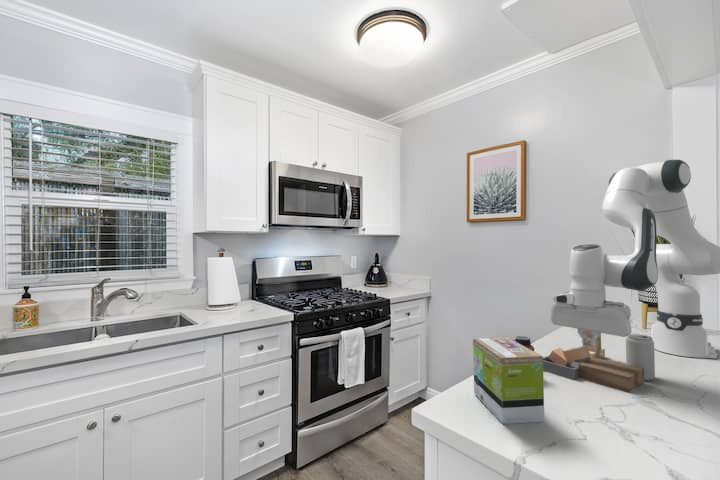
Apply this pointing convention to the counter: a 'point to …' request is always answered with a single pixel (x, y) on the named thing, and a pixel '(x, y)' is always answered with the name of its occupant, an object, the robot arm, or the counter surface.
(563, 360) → the peach square block
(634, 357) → the beverage can
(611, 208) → the robot arm
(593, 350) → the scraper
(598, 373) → the board
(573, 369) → the tray
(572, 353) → the tile
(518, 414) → the tea box
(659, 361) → the counter surface
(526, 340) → the supplement bottle
